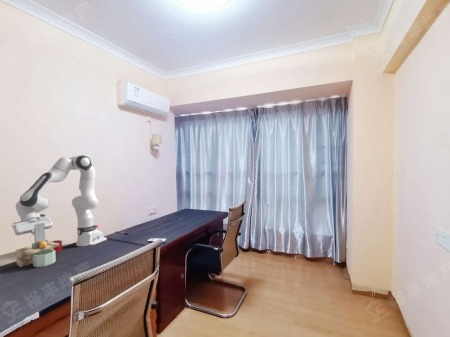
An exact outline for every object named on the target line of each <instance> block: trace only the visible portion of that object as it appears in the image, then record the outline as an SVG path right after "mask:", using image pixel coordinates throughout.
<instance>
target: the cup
mask: <svg viewBox="0 0 450 337" xmlns="http://www.w3.org/2000/svg"><path fill="white" fill-rule="evenodd" d="M56 258H57V257H56V253H55V250H52V249H51V250H43V251H40V252H36V253H35V254H33V263H32V266H33V267H35V268H40V267H47V266H49V265H53V264H54V263H55V262H56V260H57V259H56Z"/></svg>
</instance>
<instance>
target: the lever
mask: <svg viewBox="0 0 450 337" xmlns="http://www.w3.org/2000/svg"><path fill="white" fill-rule="evenodd" d="M50 242H54V243H59V246H57V247H54V248H53V250H55V254H56V253H58V252H59V253H60V252H61V251H62V250H63V241H62V240H59V239H58V240H51V241H50Z"/></svg>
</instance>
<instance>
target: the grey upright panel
mask: <svg viewBox="0 0 450 337" xmlns="http://www.w3.org/2000/svg"><path fill="white" fill-rule="evenodd" d="M33 236H34V242H33V243H31V246H32V248H33V249H34V248H38V247H40V246H39V244H40V243H41V242H43V241H45V242H47V245H48V241H49V240H48V239H46V229H45V223H39V224H34V235H33Z"/></svg>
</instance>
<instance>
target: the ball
mask: <svg viewBox="0 0 450 337" xmlns="http://www.w3.org/2000/svg"><path fill="white" fill-rule="evenodd" d="M39 246H40V247H41V248H44V247H46V246H47V242H45V241H43V242H41V243H40V244H39Z"/></svg>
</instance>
